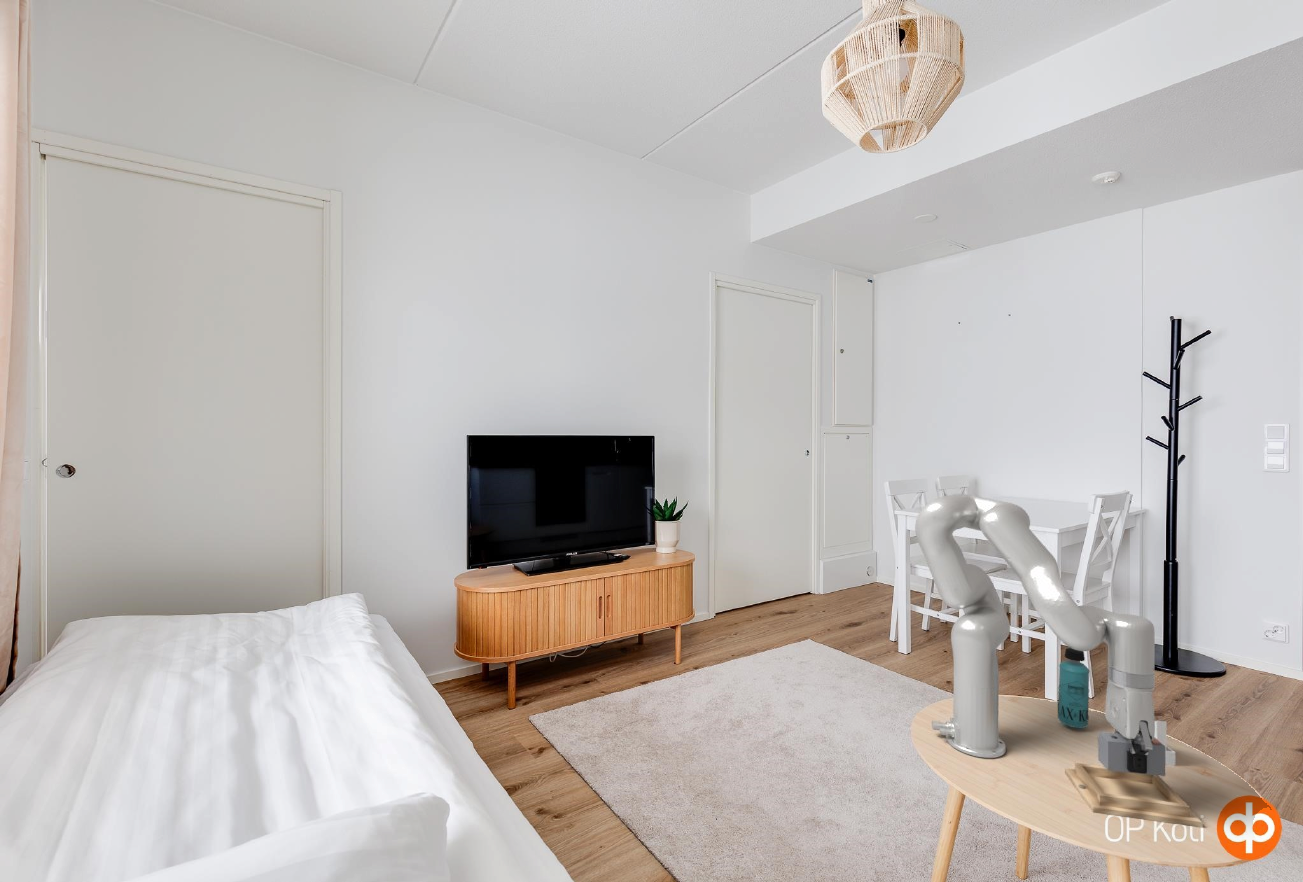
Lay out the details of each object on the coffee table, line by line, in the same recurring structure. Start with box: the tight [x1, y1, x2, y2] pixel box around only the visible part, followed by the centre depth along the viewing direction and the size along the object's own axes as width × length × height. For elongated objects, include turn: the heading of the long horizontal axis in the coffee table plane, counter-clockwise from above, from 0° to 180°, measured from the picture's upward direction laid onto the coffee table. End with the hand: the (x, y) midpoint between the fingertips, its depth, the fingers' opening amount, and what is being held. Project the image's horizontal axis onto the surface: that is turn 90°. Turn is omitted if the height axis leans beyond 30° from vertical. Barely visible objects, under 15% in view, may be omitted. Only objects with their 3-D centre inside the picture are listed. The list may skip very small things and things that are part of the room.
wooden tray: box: [1064, 762, 1203, 828], centre depth 124 cm, size 18×14×3 cm
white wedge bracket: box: [1154, 720, 1176, 767], centre depth 138 cm, size 4×10×9 cm, turn 168°
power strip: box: [1097, 731, 1166, 777], centre depth 124 cm, size 10×4×6 cm, turn 77°
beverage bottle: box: [1057, 647, 1090, 729], centre depth 152 cm, size 6×7×20 cm
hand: (1130, 764), depth 124 cm, fingers closed on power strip, 4 cm apart
